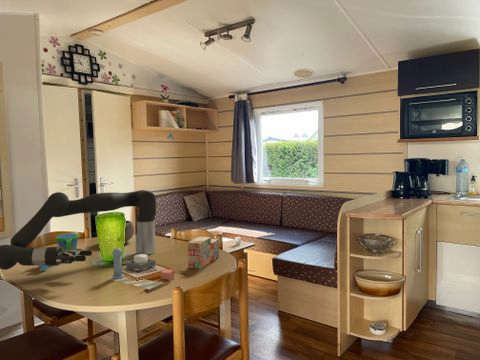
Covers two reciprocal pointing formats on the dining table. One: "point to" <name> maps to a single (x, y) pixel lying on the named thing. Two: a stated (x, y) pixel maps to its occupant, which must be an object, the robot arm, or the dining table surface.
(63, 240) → the snack cup
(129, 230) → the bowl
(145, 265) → the popper housing
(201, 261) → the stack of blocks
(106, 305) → the dining table surface
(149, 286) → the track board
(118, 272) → the pawn
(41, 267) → the building blocks
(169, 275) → the die
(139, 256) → the white rounded block
